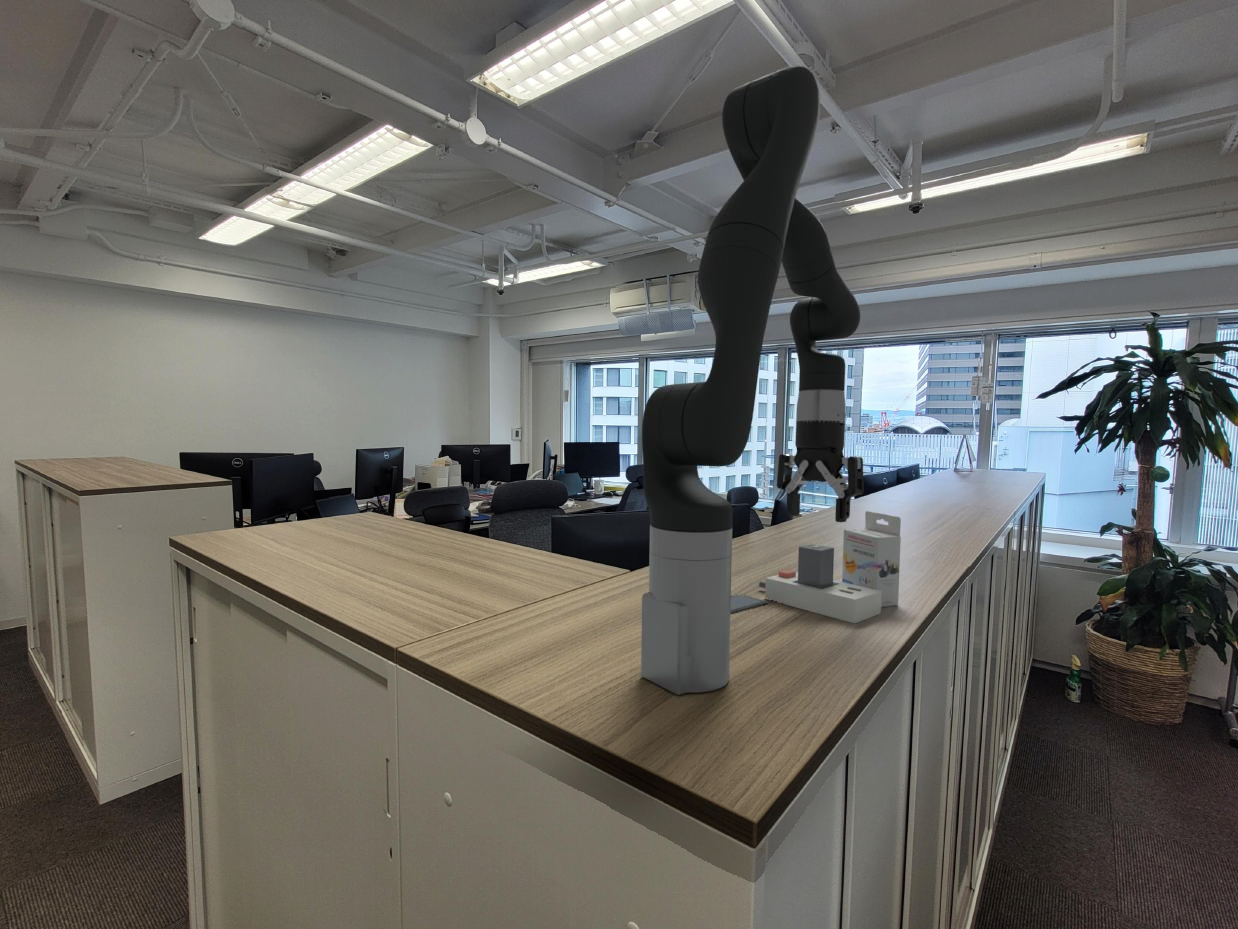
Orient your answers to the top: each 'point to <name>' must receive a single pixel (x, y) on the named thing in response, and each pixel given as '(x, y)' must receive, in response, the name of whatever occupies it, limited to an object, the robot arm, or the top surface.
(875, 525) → the ink box
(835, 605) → the power strip
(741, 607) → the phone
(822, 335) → the robot arm
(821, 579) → the charger
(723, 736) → the top surface
